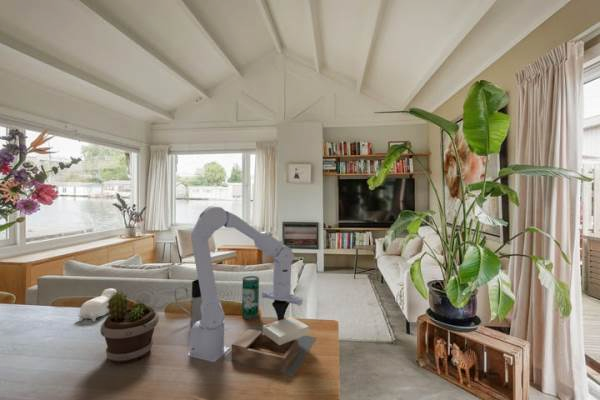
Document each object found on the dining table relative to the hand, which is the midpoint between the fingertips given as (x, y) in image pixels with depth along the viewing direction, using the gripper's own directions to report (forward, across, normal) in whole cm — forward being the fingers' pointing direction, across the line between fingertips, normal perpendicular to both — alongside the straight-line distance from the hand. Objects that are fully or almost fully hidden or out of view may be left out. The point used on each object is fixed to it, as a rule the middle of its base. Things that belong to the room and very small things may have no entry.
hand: (280, 322), depth 91 cm
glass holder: (+6, +36, +4) cm, 36 cm away
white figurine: (+7, +73, +17) cm, 75 cm away
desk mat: (+6, -1, +6) cm, 8 cm away
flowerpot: (+6, +35, +28) cm, 45 cm away
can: (+6, +21, -11) cm, 24 cm away
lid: (+1, -4, +4) cm, 6 cm away
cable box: (+5, -2, +11) cm, 13 cm away
